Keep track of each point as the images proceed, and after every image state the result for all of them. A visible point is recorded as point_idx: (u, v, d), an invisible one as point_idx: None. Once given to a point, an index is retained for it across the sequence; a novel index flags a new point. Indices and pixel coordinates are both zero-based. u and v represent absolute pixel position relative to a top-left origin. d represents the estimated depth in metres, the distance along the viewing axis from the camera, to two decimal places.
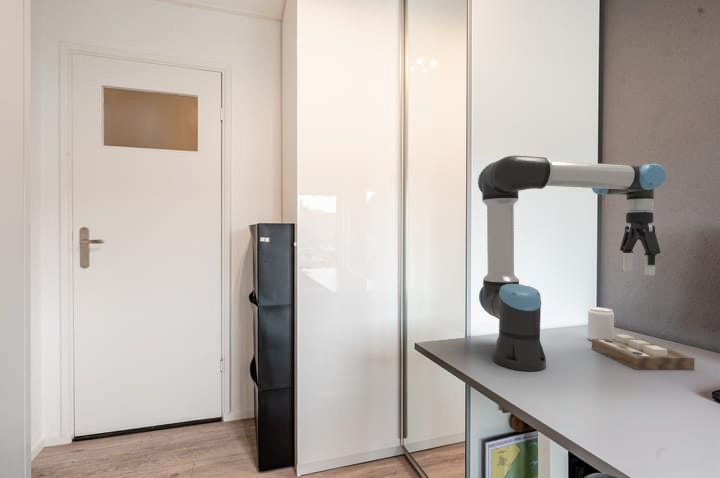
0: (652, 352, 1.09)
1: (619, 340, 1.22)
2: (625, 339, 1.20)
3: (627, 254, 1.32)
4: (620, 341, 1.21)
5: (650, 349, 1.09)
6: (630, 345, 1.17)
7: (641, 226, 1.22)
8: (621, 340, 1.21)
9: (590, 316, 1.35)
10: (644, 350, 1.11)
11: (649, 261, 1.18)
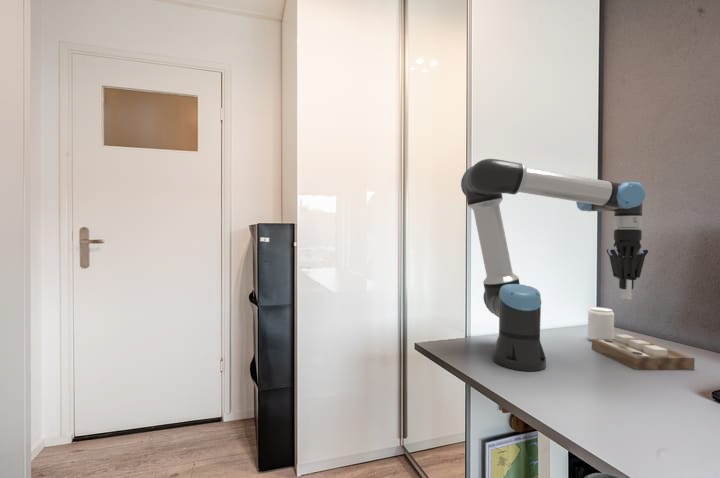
0: (652, 352, 1.09)
1: (619, 340, 1.22)
2: (625, 339, 1.20)
3: None
4: (620, 341, 1.21)
5: (650, 349, 1.09)
6: (630, 345, 1.17)
7: None
8: (621, 340, 1.21)
9: (590, 316, 1.35)
10: (644, 350, 1.11)
11: None
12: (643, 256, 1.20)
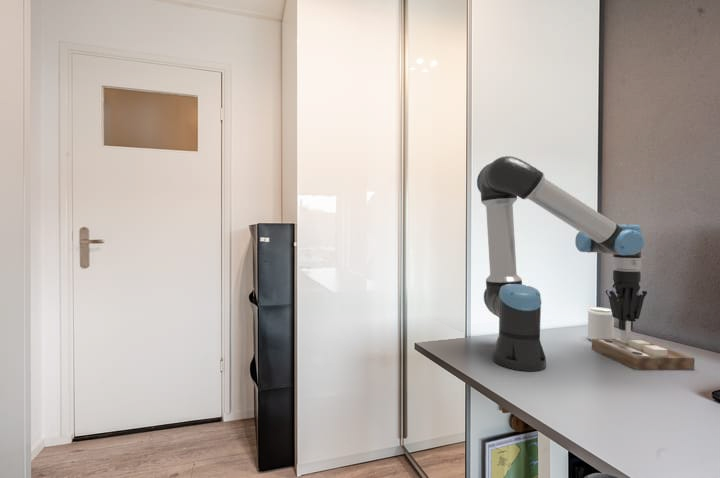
0: (652, 352, 1.09)
1: None
2: (625, 343, 1.20)
3: None
4: None
5: (650, 349, 1.09)
6: (630, 345, 1.17)
7: None
8: None
9: (590, 316, 1.35)
10: (644, 350, 1.11)
11: None
12: (642, 297, 1.21)
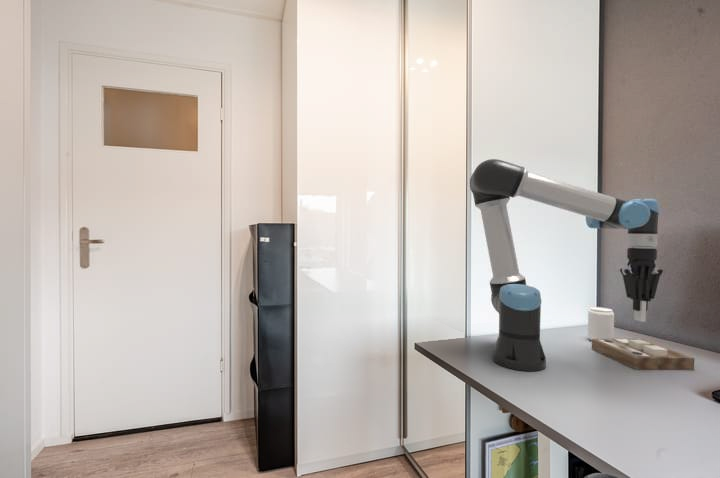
0: (652, 352, 1.09)
1: None
2: None
3: None
4: None
5: (650, 349, 1.09)
6: (630, 345, 1.17)
7: None
8: None
9: (590, 316, 1.35)
10: (644, 350, 1.11)
11: None
12: (658, 276, 1.15)
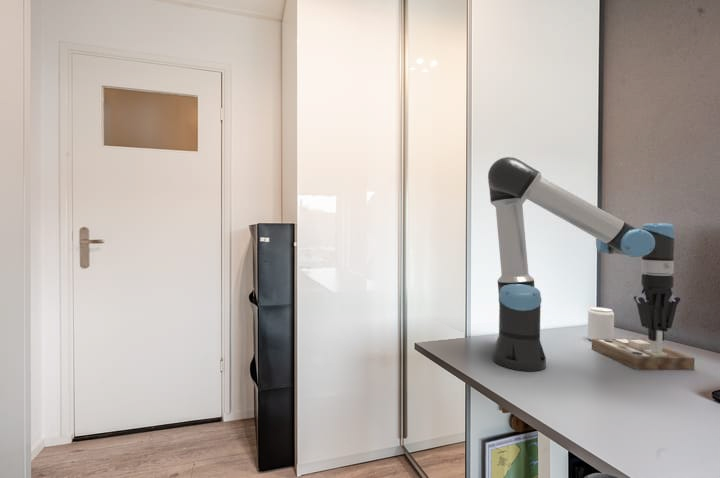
0: None
1: None
2: None
3: None
4: None
5: (650, 353, 1.09)
6: (630, 345, 1.17)
7: None
8: None
9: (590, 316, 1.35)
10: None
11: None
12: (675, 304, 1.09)
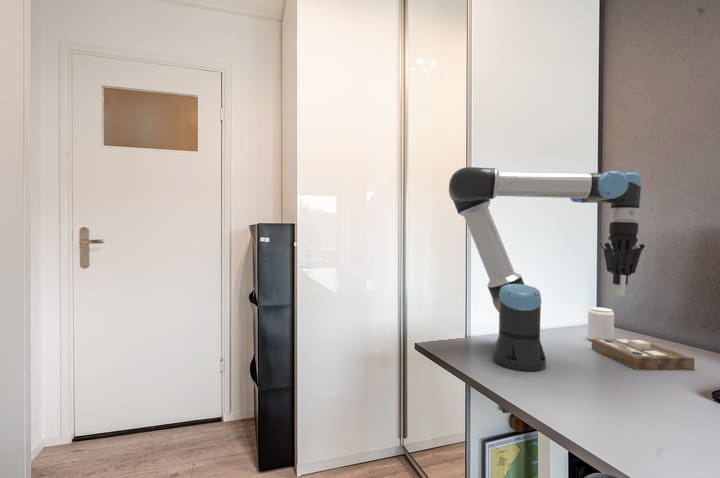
0: None
1: None
2: None
3: None
4: None
5: (650, 354, 1.09)
6: (630, 345, 1.17)
7: None
8: None
9: (590, 316, 1.35)
10: None
11: None
12: (639, 251, 1.15)
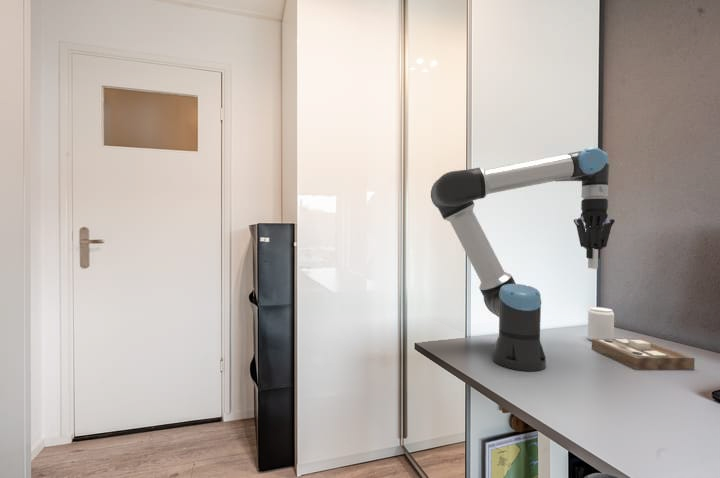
0: None
1: None
2: None
3: None
4: None
5: (650, 354, 1.09)
6: (630, 345, 1.17)
7: None
8: None
9: (590, 316, 1.35)
10: None
11: None
12: (609, 226, 1.21)
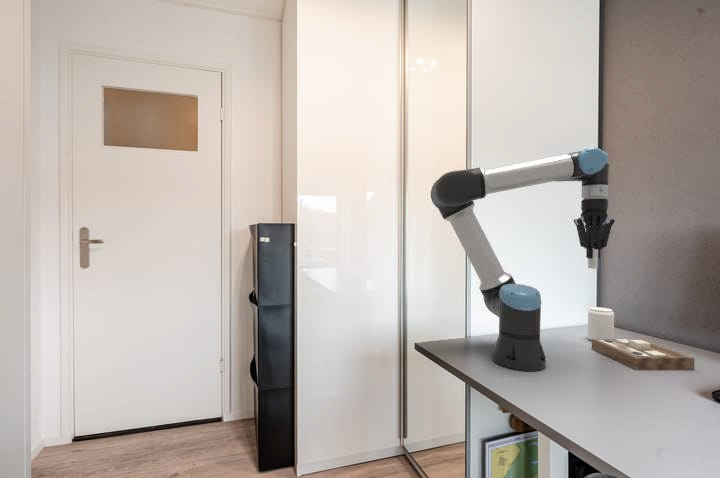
0: None
1: None
2: None
3: None
4: None
5: (650, 354, 1.09)
6: (630, 345, 1.17)
7: None
8: None
9: (590, 316, 1.35)
10: None
11: None
12: (609, 226, 1.21)
